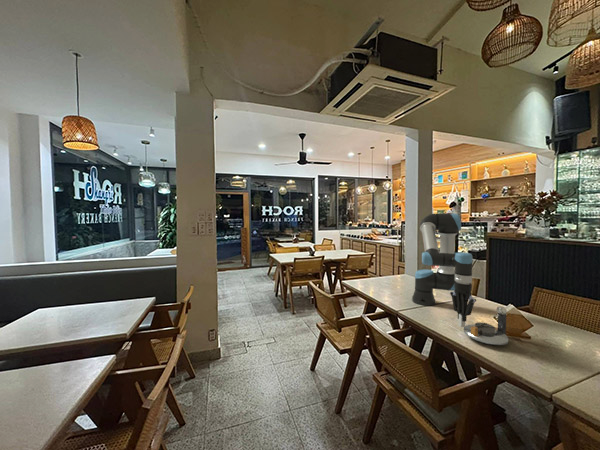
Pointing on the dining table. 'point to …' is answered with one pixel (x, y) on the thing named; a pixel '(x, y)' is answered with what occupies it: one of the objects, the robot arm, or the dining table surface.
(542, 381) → the dining table surface
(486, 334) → the cover
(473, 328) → the platter
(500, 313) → the indicator post
